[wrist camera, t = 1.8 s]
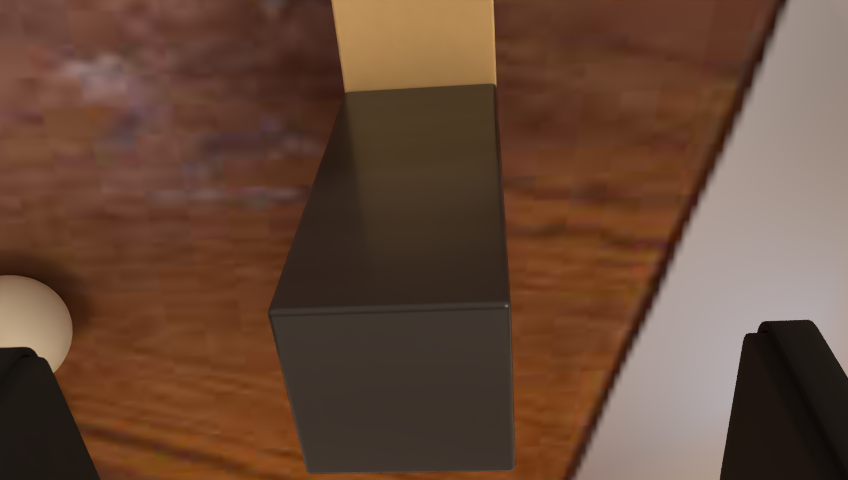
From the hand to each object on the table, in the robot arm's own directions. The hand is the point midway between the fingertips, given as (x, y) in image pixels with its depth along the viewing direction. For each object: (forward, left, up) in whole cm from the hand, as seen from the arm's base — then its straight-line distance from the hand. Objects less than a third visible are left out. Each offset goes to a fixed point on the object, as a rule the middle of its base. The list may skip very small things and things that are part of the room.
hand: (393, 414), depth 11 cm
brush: (0, 0, -10) cm, 10 cm away
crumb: (+5, -12, -8) cm, 15 cm away
